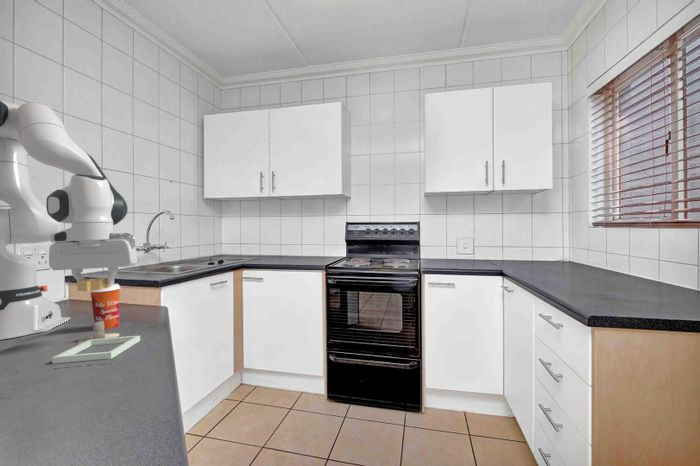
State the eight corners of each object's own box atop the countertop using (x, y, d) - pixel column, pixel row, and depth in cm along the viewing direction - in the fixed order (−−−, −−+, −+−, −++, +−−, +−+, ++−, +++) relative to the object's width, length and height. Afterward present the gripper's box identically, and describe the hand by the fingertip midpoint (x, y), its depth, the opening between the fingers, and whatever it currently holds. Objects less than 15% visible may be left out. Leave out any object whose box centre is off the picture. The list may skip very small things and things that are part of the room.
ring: (91, 287, 89) (91, 278, 89) (112, 286, 89) (112, 277, 89) (73, 292, 82) (73, 282, 82) (96, 290, 83) (95, 281, 83)
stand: (92, 338, 91) (91, 319, 91) (126, 336, 92) (125, 316, 92) (68, 350, 82) (67, 328, 82) (106, 347, 83) (105, 325, 83)
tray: (90, 349, 82) (90, 339, 82) (140, 344, 83) (140, 335, 83) (52, 368, 70) (51, 357, 70) (111, 363, 71) (111, 352, 71)
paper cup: (96, 336, 93) (93, 288, 92) (88, 332, 97) (85, 286, 97) (127, 329, 99) (124, 284, 99) (118, 325, 103) (116, 282, 103)
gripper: (140, 232, 91) (143, 280, 91) (62, 235, 88) (64, 285, 89) (127, 232, 84) (130, 284, 85) (42, 235, 82) (45, 289, 82)
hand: (96, 284), depth 87 cm, fingers closed on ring, 5 cm apart
